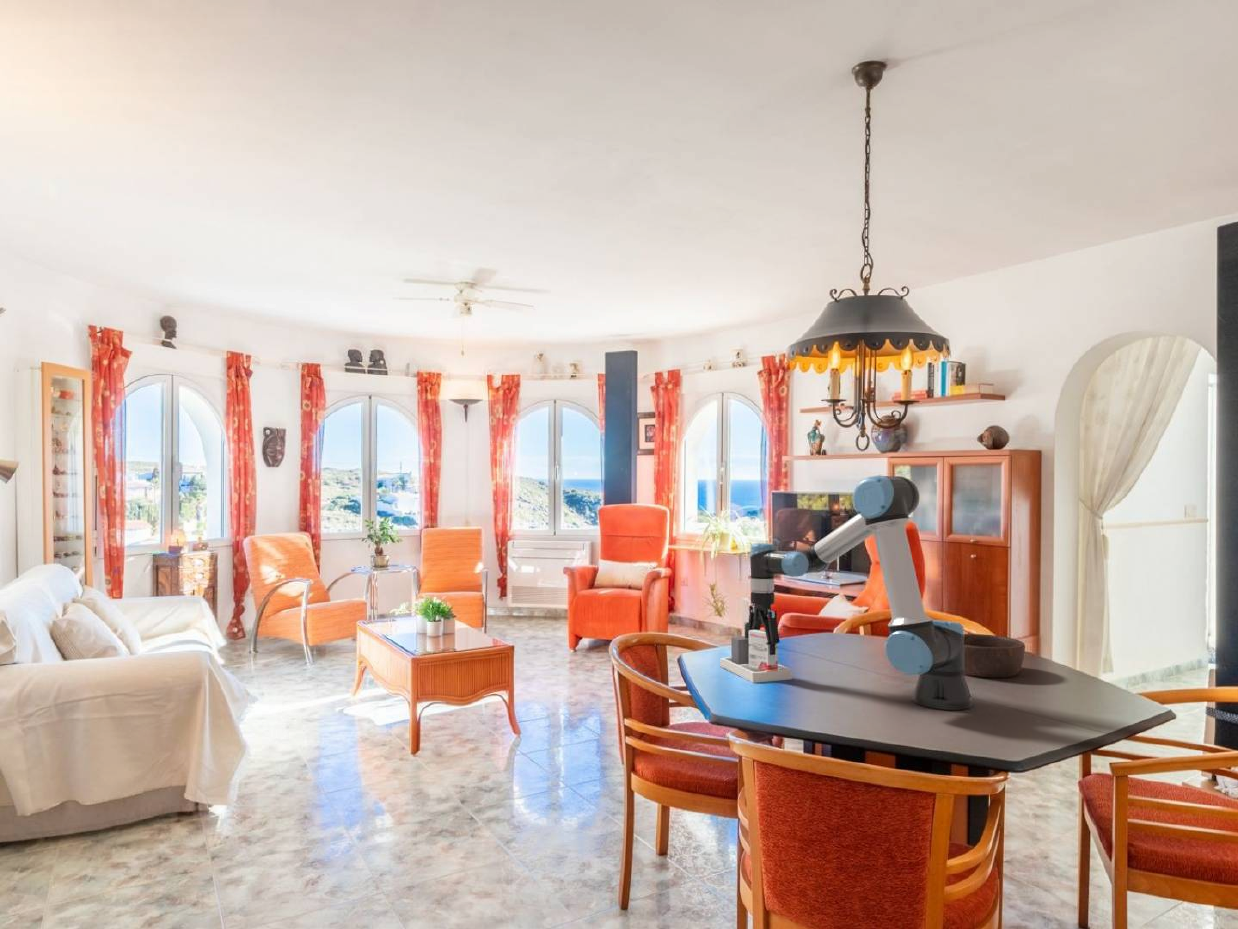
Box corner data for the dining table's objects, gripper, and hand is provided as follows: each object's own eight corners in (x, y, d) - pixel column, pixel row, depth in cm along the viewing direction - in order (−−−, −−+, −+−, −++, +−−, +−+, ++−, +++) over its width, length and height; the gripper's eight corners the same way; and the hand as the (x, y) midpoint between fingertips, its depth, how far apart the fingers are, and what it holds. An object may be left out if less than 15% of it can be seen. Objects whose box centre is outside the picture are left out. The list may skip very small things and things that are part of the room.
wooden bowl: (1040, 674, 249) (1040, 642, 250) (998, 684, 235) (998, 651, 236) (968, 660, 270) (968, 631, 270) (926, 669, 256) (925, 638, 256)
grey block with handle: (762, 668, 256) (762, 623, 256) (738, 670, 253) (738, 624, 253) (755, 665, 260) (755, 620, 261) (731, 667, 258) (731, 622, 258)
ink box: (778, 669, 245) (778, 632, 245) (768, 671, 241) (768, 633, 242) (758, 664, 251) (757, 628, 252) (747, 667, 248) (747, 630, 248)
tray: (792, 679, 243) (792, 668, 243) (752, 682, 238) (752, 672, 238) (757, 664, 264) (756, 654, 265) (720, 667, 260) (720, 657, 260)
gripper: (790, 595, 238) (791, 668, 237) (756, 587, 259) (756, 653, 258) (769, 596, 236) (770, 669, 235) (736, 587, 256) (736, 655, 256)
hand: (763, 661), depth 246 cm, fingers closed on ink box, 9 cm apart
